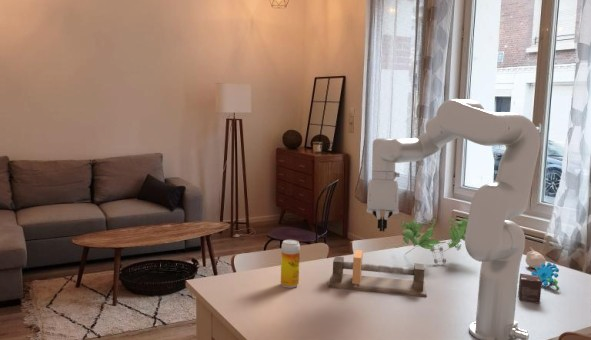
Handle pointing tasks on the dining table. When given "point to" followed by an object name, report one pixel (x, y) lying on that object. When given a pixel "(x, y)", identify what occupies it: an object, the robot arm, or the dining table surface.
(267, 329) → the dining table surface
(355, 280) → the collar
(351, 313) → the dining table surface
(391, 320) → the dining table surface
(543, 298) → the dining table surface
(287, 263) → the beer can
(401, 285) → the pipe stand
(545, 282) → the blue lobed piece
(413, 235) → the plant cuttings
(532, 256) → the garlic bulb
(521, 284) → the box
